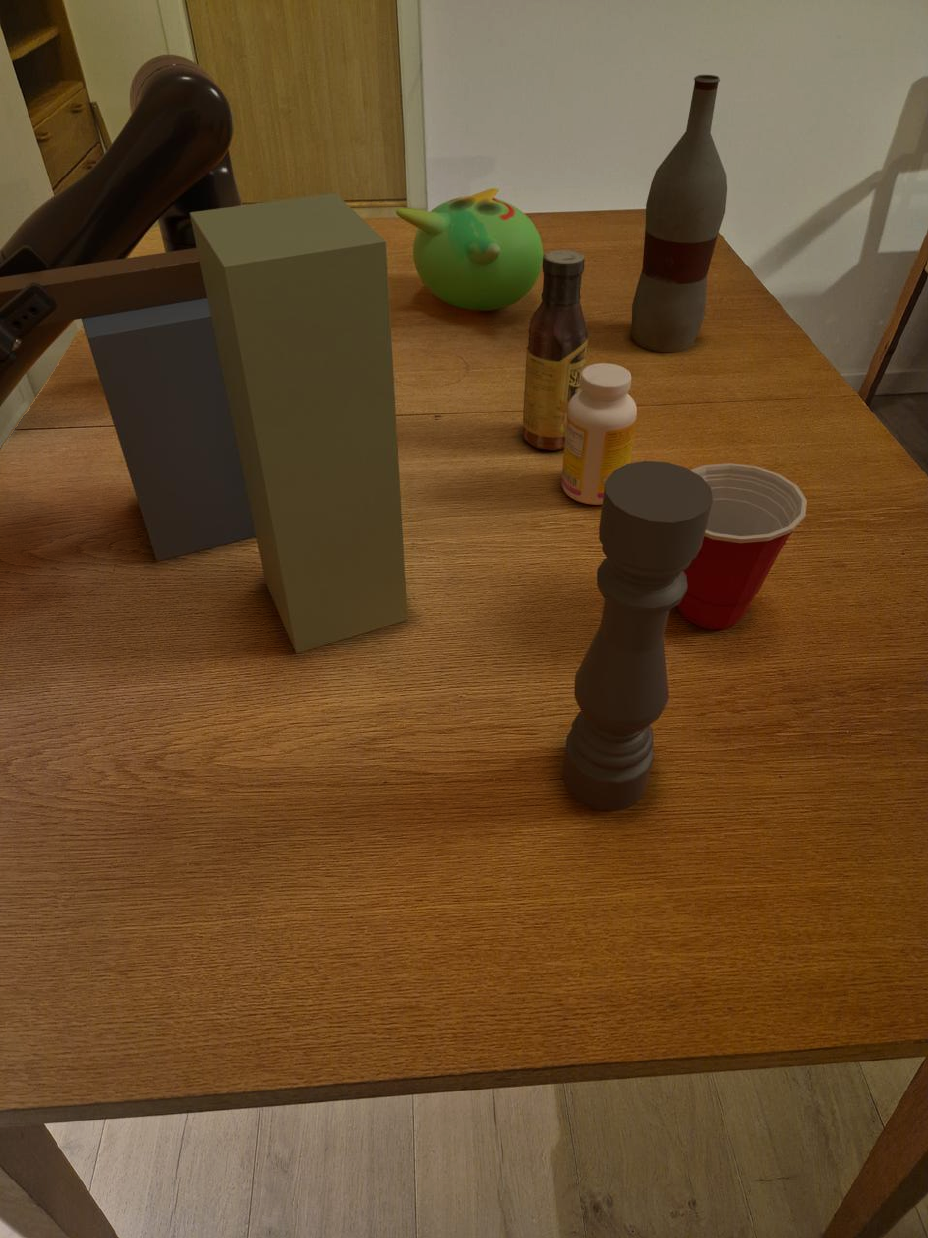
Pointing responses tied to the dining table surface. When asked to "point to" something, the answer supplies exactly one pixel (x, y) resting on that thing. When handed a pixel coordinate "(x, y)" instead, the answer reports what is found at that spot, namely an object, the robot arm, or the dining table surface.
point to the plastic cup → (738, 541)
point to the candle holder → (632, 628)
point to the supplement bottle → (597, 431)
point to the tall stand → (311, 406)
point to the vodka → (681, 232)
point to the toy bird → (476, 251)
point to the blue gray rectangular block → (173, 424)
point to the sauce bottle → (555, 351)
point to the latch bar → (114, 285)
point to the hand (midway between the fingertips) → (42, 273)
